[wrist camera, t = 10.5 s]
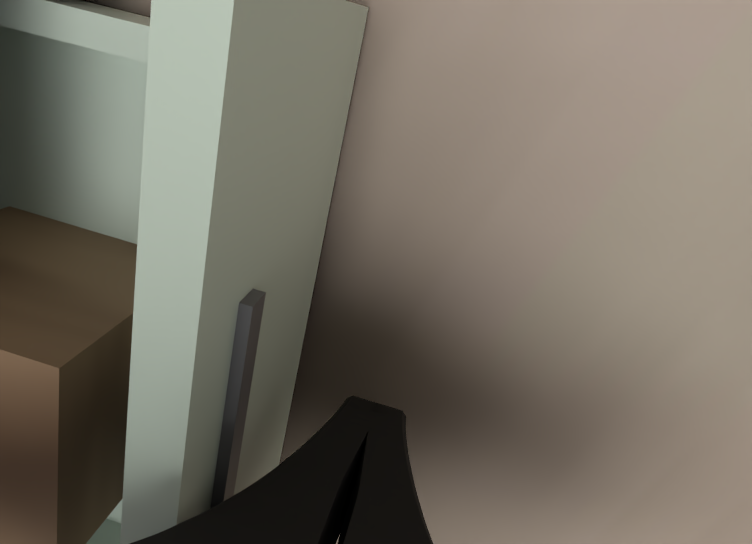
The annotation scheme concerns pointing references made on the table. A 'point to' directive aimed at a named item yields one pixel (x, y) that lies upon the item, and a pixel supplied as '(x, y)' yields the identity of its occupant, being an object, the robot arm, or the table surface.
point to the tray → (188, 210)
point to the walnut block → (62, 377)
